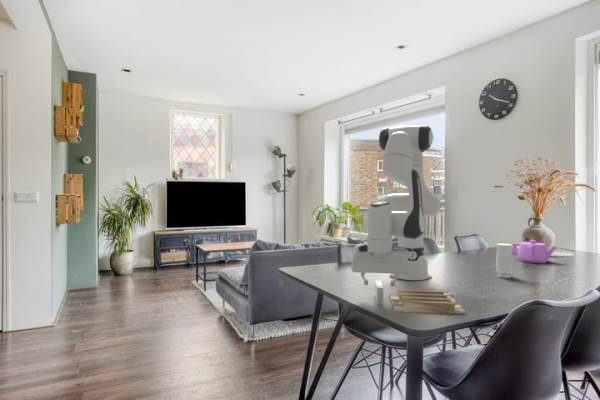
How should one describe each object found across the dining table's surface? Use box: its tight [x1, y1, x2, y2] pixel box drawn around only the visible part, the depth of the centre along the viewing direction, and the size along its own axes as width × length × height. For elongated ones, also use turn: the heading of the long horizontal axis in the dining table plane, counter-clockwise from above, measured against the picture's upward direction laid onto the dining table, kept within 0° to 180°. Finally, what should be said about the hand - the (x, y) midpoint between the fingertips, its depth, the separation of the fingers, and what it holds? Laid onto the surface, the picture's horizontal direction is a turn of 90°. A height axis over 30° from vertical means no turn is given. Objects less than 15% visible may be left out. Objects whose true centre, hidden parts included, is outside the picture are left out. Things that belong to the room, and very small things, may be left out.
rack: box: [388, 289, 466, 315], centre depth 130 cm, size 18×22×3 cm
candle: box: [495, 243, 514, 279], centre depth 177 cm, size 7×7×15 cm
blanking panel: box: [374, 279, 384, 306], centre depth 136 cm, size 12×2×6 cm, turn 172°
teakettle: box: [512, 239, 557, 264], centre depth 220 cm, size 17×17×12 cm
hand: (379, 285), depth 136 cm, fingers open, 8 cm apart
